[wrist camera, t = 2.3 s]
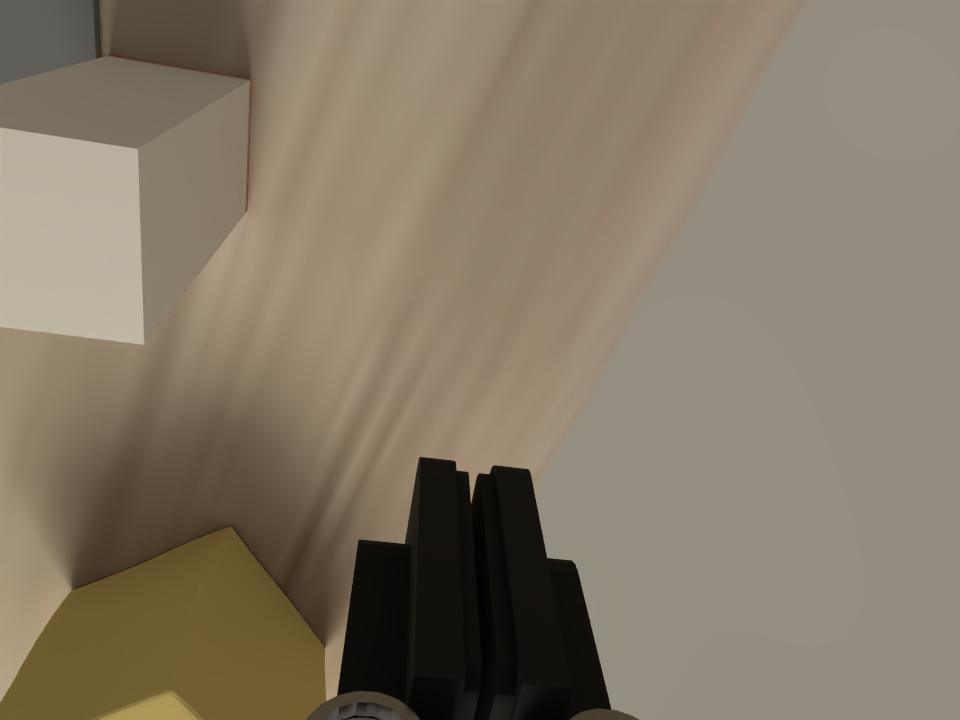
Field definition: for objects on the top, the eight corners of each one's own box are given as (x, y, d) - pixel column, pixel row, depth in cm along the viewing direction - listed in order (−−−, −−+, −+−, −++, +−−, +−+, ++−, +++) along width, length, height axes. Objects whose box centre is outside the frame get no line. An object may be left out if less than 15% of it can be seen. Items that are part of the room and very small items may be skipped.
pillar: (109, 55, 27) (-102, 111, 16) (251, 79, 28) (138, 149, 17) (115, 191, 29) (-66, 318, 19) (247, 210, 30) (144, 344, 19)
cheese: (178, 708, 43) (112, 900, 34) (56, 581, 38) (-58, 766, 29) (340, 649, 42) (315, 834, 33) (234, 509, 37) (170, 681, 28)
